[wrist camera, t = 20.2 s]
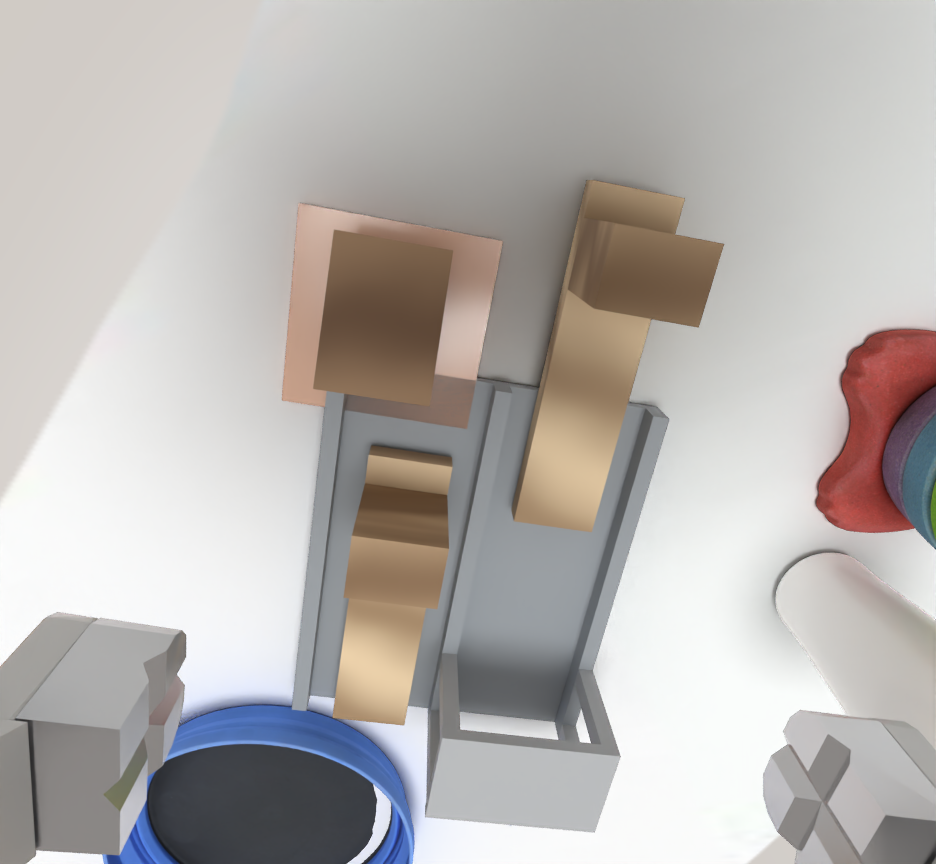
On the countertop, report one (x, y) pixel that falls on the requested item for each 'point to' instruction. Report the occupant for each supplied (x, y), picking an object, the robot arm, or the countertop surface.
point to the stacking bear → (887, 439)
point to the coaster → (461, 312)
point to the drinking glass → (863, 639)
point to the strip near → (605, 343)
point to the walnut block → (382, 318)
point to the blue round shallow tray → (268, 794)
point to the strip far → (392, 581)
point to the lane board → (488, 603)
